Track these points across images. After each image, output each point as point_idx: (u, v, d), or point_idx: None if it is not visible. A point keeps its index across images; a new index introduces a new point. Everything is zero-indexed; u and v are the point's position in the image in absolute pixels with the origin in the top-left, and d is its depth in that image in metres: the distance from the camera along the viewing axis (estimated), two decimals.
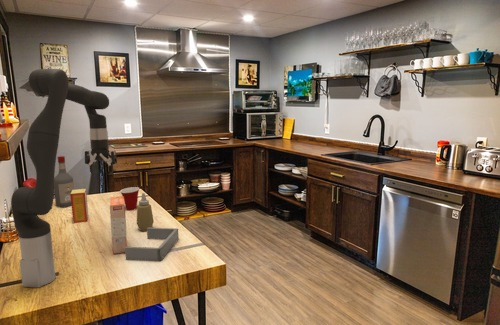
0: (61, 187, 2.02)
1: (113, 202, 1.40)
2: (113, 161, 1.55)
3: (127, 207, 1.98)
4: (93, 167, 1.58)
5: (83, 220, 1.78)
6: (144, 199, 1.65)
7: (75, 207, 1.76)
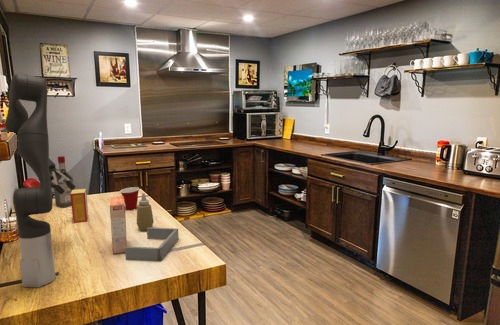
0: None
1: (113, 202, 1.40)
2: (69, 176, 1.50)
3: (127, 207, 1.98)
4: None
5: (83, 220, 1.78)
6: (144, 199, 1.65)
7: (75, 206, 1.76)
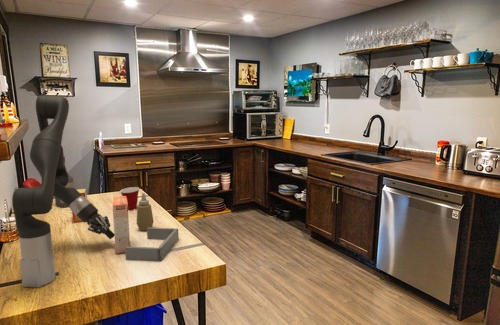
0: None
1: (116, 202, 1.40)
2: (108, 223, 1.49)
3: None
4: None
5: None
6: (144, 199, 1.65)
7: None
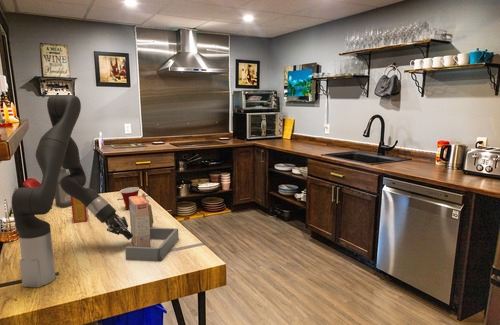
0: None
1: (136, 201, 1.41)
2: (126, 224, 1.48)
3: (127, 207, 1.98)
4: None
5: (83, 220, 1.78)
6: None
7: (75, 207, 1.76)
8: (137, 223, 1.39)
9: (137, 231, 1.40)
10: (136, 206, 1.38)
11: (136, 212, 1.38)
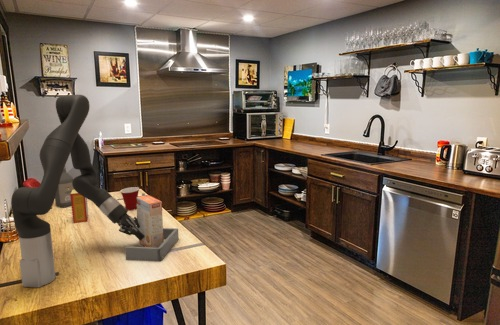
0: (61, 187, 2.02)
1: (148, 200, 1.42)
2: (137, 225, 1.47)
3: (127, 207, 1.98)
4: None
5: (83, 220, 1.78)
6: None
7: (75, 207, 1.76)
8: (151, 222, 1.40)
9: (151, 230, 1.41)
10: (150, 205, 1.39)
11: (150, 211, 1.39)
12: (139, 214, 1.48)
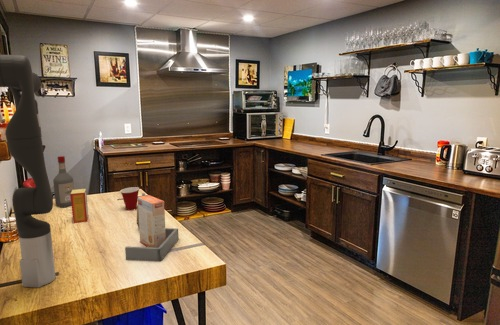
0: (61, 187, 2.02)
1: (150, 200, 1.42)
2: None
3: (127, 207, 1.98)
4: None
5: (83, 220, 1.78)
6: None
7: (75, 207, 1.76)
8: (154, 222, 1.40)
9: (154, 230, 1.41)
10: (153, 205, 1.39)
11: (153, 211, 1.40)
12: (140, 214, 1.48)
